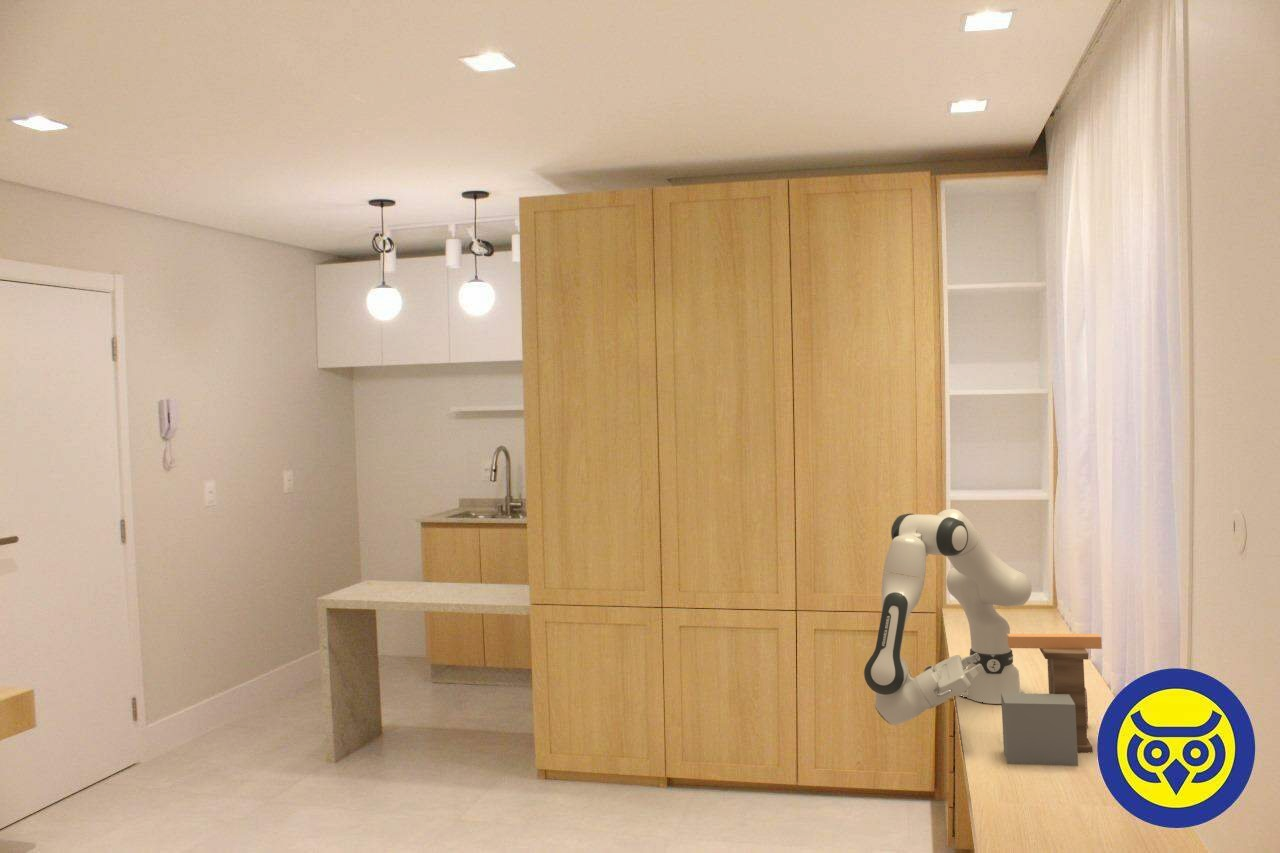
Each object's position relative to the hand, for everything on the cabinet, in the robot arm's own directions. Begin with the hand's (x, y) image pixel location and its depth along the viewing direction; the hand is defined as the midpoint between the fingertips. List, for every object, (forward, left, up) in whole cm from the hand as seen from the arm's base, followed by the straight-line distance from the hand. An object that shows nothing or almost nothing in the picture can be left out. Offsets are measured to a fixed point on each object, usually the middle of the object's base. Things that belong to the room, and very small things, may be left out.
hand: (980, 661), depth 253 cm
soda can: (-13, +24, -21) cm, 35 cm away
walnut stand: (0, +20, -21) cm, 29 cm away
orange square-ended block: (0, +18, +4) cm, 18 cm away
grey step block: (+11, +12, -21) cm, 27 cm away
